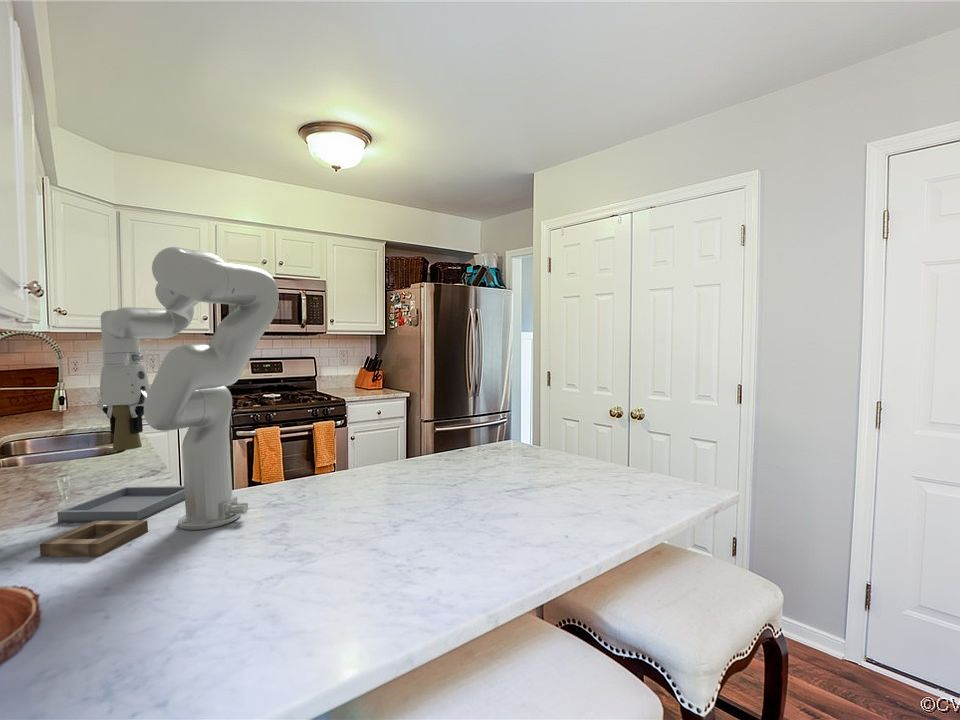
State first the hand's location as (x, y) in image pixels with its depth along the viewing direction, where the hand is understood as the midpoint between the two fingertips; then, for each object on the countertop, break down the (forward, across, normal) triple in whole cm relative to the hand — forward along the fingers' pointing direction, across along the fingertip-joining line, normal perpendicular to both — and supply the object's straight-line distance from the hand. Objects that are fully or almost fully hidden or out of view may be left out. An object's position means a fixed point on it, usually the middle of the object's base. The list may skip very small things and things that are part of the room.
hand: (126, 432), depth 125 cm
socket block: (+19, -11, +22) cm, 31 cm away
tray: (+19, 0, 0) cm, 19 cm away
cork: (+4, 0, 0) cm, 4 cm away
